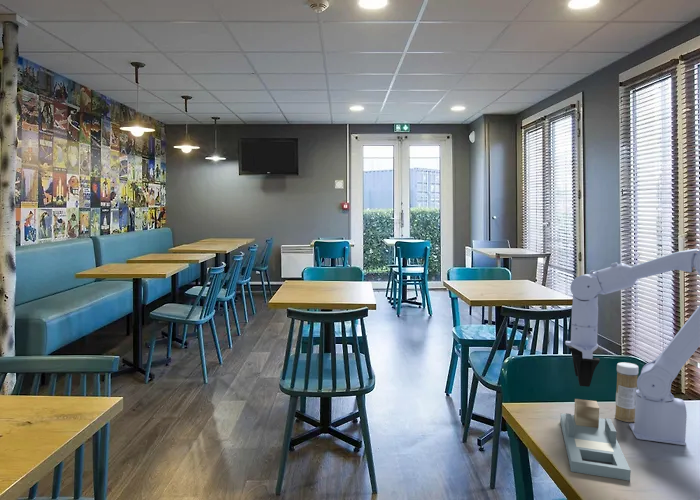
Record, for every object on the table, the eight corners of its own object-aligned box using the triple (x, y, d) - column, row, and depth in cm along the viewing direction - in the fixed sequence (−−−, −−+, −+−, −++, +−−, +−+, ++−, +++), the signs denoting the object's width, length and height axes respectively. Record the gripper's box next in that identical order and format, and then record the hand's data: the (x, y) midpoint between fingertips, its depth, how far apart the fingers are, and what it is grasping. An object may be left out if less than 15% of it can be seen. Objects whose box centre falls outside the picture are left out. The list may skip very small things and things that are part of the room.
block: (595, 420, 115) (596, 401, 115) (598, 428, 111) (599, 408, 110) (574, 417, 116) (574, 398, 116) (576, 425, 112) (577, 405, 112)
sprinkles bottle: (619, 414, 124) (621, 360, 123) (639, 419, 121) (641, 365, 120) (611, 418, 121) (613, 363, 120) (631, 424, 118) (633, 368, 117)
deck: (607, 427, 116) (607, 408, 116) (630, 480, 92) (631, 456, 92) (560, 421, 119) (561, 403, 119) (571, 471, 95) (572, 448, 95)
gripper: (563, 318, 127) (561, 370, 128) (569, 329, 114) (567, 388, 114) (593, 320, 125) (591, 373, 126) (603, 332, 111) (601, 392, 112)
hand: (582, 380), depth 120 cm, fingers open, 7 cm apart
